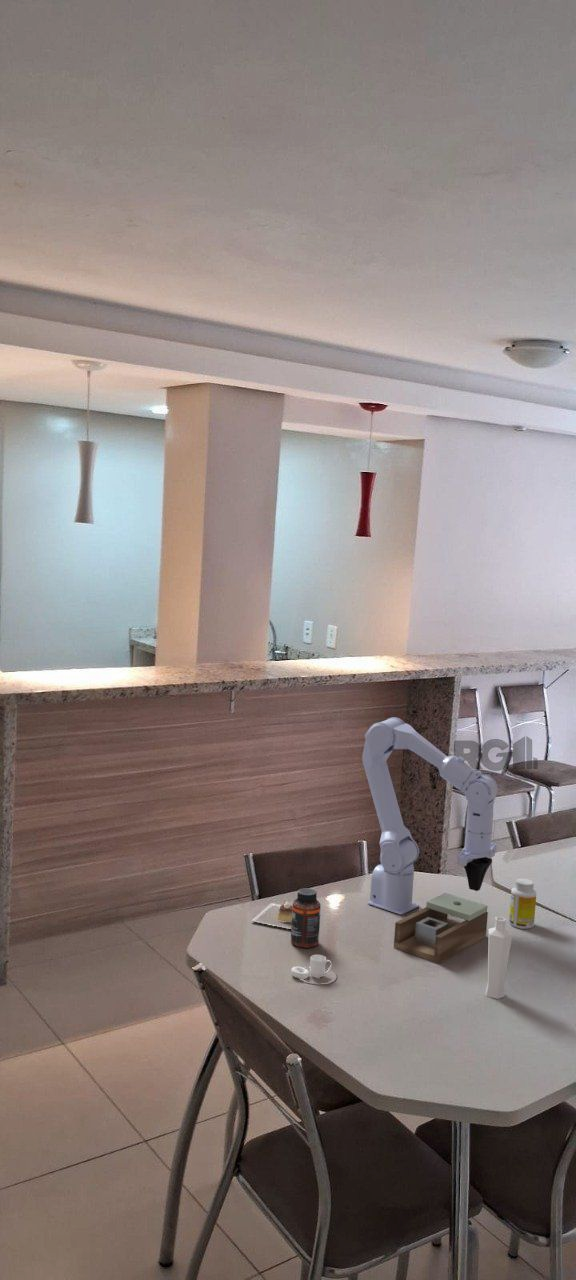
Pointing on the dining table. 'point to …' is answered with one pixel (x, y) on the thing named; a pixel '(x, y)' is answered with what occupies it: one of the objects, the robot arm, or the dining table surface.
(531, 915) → the supplement bottle
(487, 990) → the perfume bottle
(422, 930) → the grey hollow square block
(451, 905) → the cover
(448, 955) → the housing
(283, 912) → the dessert
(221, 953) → the dining table surface
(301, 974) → the teacup and saucer
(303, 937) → the supplement bottle
